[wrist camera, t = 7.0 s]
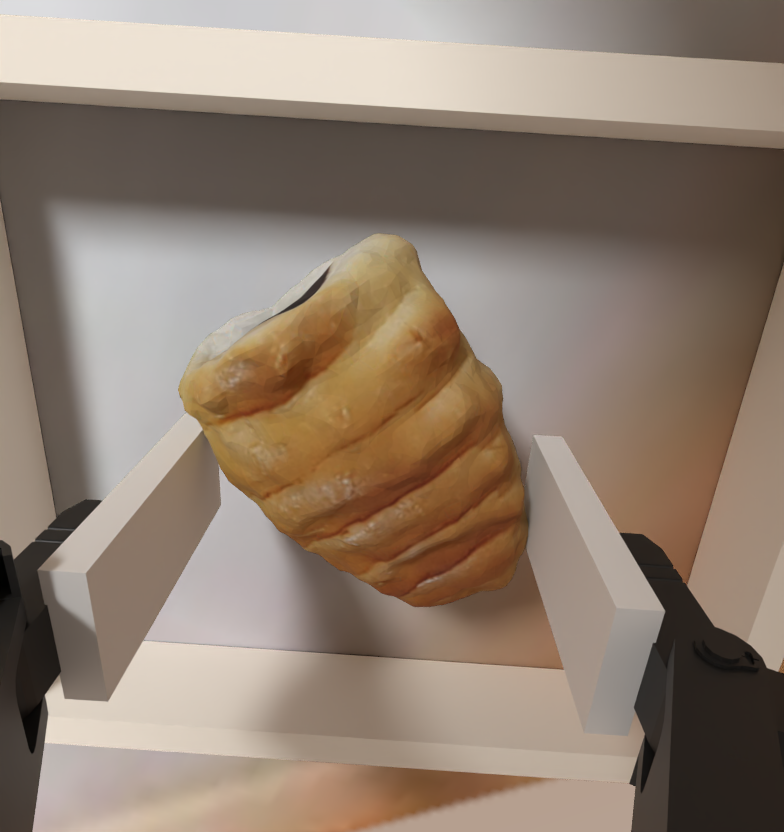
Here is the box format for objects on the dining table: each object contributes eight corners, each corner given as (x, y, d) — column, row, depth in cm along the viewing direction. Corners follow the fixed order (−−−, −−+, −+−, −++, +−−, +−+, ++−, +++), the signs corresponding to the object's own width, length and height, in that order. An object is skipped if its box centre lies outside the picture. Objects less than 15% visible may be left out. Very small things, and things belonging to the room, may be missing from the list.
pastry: (580, 500, 16) (628, 592, 13) (380, 606, 18) (373, 713, 14) (388, 202, 13) (381, 213, 10) (171, 361, 15) (97, 419, 11)
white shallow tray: (50, 658, 22) (-11, 738, 19) (-74, 42, 15) (-210, 1, 12) (684, 702, 22) (731, 790, 19) (879, 102, 15) (1012, 78, 11)
